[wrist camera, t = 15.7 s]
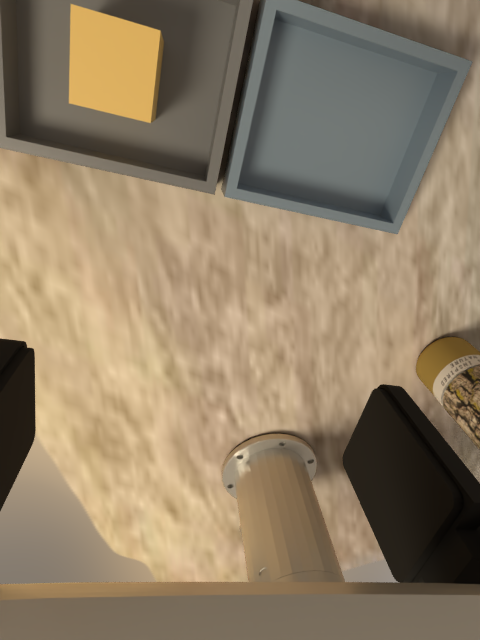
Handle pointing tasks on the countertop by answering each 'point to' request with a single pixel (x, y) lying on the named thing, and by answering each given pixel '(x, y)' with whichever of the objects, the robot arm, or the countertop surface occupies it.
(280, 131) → the slate-blue tray
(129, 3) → the charcoal tray
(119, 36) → the ochre block
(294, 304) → the countertop surface
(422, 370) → the paper tube
